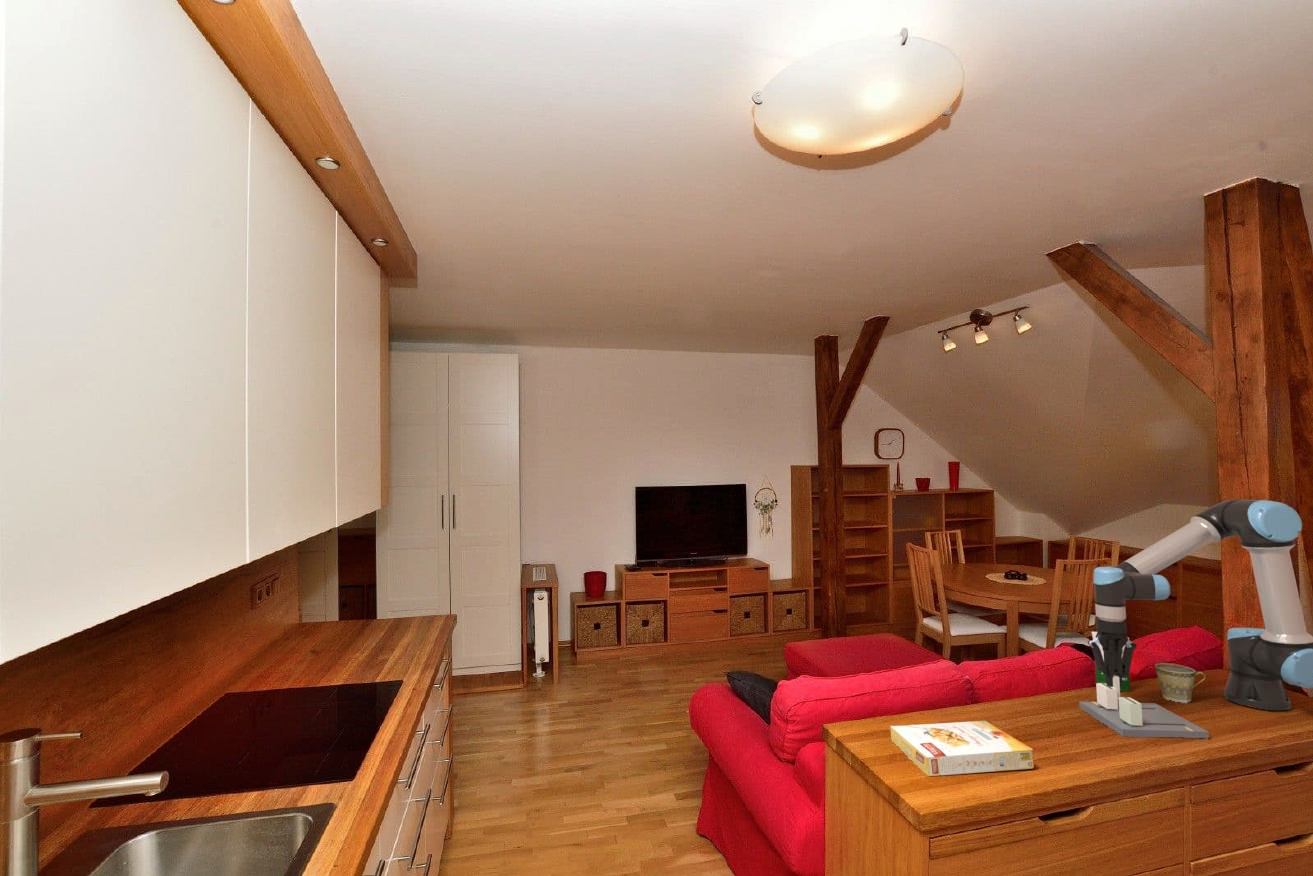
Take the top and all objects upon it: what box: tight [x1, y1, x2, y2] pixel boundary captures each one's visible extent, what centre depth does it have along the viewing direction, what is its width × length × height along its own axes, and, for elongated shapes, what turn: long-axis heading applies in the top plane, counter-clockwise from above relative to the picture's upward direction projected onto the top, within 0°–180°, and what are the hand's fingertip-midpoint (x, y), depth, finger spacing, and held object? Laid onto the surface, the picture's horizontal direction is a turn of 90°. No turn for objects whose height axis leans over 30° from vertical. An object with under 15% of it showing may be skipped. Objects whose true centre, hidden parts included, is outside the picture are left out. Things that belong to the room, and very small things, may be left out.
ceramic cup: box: [1154, 662, 1206, 704], centre depth 198 cm, size 13×10×10 cm
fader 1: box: [1095, 682, 1119, 709], centre depth 187 cm, size 3×5×6 cm, turn 174°
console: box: [1078, 700, 1210, 739], centre depth 180 cm, size 22×21×2 cm
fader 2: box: [1118, 696, 1143, 726], centre depth 175 cm, size 3×5×6 cm, turn 174°
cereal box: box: [889, 720, 1035, 777], centre depth 162 cm, size 20×6×28 cm
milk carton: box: [1091, 631, 1131, 691], centre depth 210 cm, size 9×9×20 cm
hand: (1114, 697), depth 187 cm, fingers closed
